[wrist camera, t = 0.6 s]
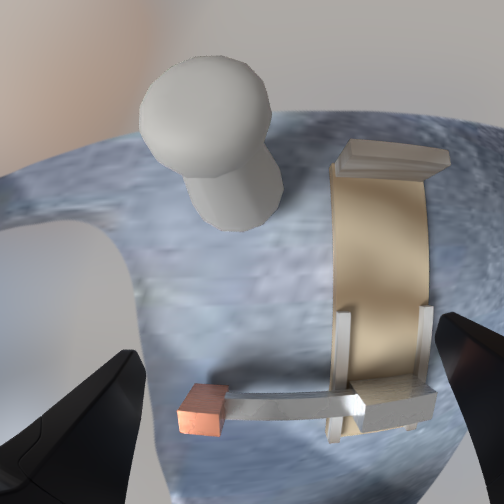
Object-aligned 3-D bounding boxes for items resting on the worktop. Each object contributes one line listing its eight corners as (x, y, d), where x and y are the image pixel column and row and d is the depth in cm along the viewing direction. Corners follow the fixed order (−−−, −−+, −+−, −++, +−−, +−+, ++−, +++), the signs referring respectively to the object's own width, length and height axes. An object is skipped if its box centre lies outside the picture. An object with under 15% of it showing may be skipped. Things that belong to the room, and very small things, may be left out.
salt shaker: (296, 180, 20) (331, 66, 7) (255, 251, 20) (232, 227, 7) (225, 143, 21) (177, 16, 8) (184, 210, 21) (77, 142, 8)
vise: (407, 419, 19) (434, 450, 14) (325, 431, 19) (337, 470, 14) (415, 173, 20) (450, 150, 15) (329, 167, 20) (346, 138, 15)
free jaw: (406, 395, 18) (432, 419, 14) (196, 405, 19) (180, 435, 15) (410, 371, 18) (438, 392, 14) (194, 380, 19) (177, 407, 15)
